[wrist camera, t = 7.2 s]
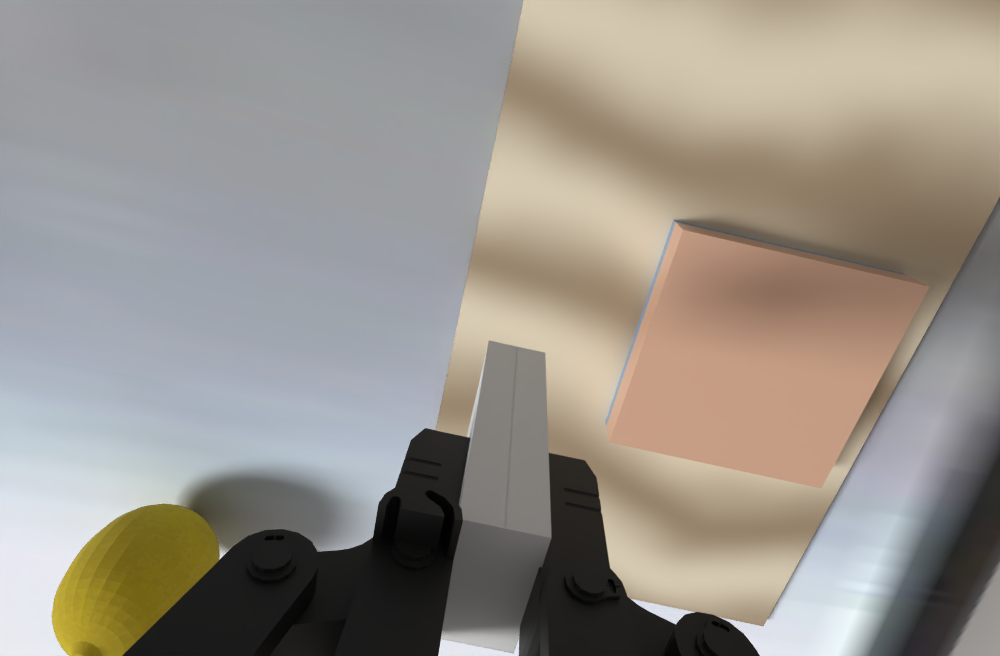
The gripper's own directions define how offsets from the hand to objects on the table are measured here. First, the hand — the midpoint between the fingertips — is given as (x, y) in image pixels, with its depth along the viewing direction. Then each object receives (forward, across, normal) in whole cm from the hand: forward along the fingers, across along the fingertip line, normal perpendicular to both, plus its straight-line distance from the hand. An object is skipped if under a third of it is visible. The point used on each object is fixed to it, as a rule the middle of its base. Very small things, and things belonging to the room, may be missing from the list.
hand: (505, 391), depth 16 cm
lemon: (+9, -13, -16) cm, 22 cm away
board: (+9, +7, -1) cm, 11 cm away
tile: (+8, +5, -1) cm, 9 cm away
